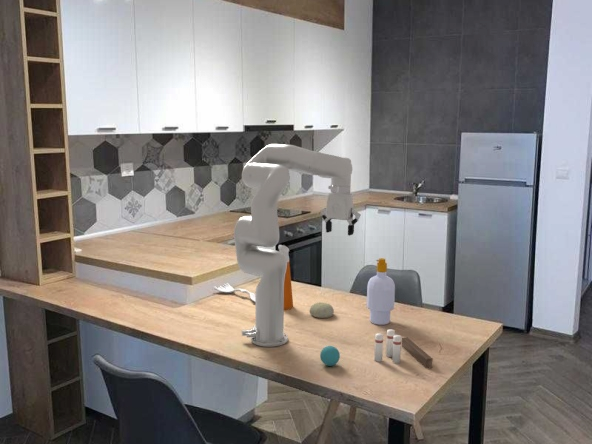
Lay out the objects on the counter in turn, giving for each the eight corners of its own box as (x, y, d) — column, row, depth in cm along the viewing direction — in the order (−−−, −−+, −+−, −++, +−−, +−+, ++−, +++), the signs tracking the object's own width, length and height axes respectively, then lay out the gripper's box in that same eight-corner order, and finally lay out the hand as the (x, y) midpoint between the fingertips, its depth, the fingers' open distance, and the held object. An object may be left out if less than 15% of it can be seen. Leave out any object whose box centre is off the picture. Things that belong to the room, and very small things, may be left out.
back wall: (426, 368, 181) (426, 359, 180) (401, 346, 198) (402, 337, 198) (432, 367, 181) (432, 358, 181) (407, 345, 199) (407, 337, 198)
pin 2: (394, 363, 184) (395, 337, 182) (390, 360, 186) (392, 335, 185) (401, 363, 185) (402, 337, 183) (398, 360, 187) (399, 334, 185)
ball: (323, 369, 179) (323, 351, 178) (317, 361, 185) (318, 343, 184) (342, 368, 181) (342, 349, 180) (336, 360, 186) (336, 342, 185)
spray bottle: (269, 311, 232) (269, 245, 227) (279, 303, 242) (279, 240, 237) (285, 313, 229) (286, 247, 225) (295, 305, 239) (296, 242, 235)
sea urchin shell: (317, 304, 235) (329, 294, 230) (328, 321, 233) (340, 310, 228) (303, 310, 228) (315, 299, 223) (314, 327, 226) (326, 316, 221)
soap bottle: (360, 322, 221) (362, 259, 217) (376, 315, 229) (378, 254, 224) (383, 328, 214) (385, 263, 210) (399, 321, 222) (401, 259, 218)
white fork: (225, 288, 263) (225, 281, 263) (281, 303, 244) (281, 294, 243) (210, 293, 256) (210, 285, 256) (266, 308, 237) (266, 300, 236)
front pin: (376, 362, 185) (377, 336, 184) (373, 359, 188) (374, 333, 186) (383, 361, 186) (384, 335, 184) (380, 358, 188) (381, 332, 187)
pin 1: (387, 357, 189) (388, 332, 187) (384, 354, 191) (385, 329, 190) (395, 356, 189) (396, 331, 188) (391, 353, 192) (393, 328, 190)
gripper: (316, 189, 230) (315, 232, 233) (355, 192, 220) (354, 237, 223) (326, 187, 236) (325, 229, 239) (365, 190, 226) (363, 234, 229)
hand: (339, 233), depth 231 cm, fingers open, 9 cm apart
